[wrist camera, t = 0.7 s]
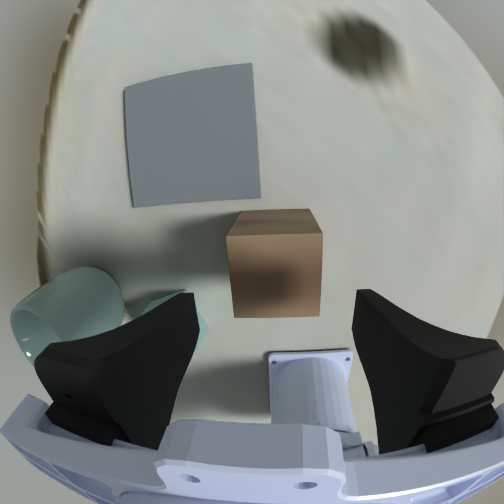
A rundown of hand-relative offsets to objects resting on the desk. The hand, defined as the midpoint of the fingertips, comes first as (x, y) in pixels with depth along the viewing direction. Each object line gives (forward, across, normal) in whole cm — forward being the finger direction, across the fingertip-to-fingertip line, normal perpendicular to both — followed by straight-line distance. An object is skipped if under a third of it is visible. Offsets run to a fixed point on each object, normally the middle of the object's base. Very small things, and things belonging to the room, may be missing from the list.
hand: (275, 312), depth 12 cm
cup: (+10, +17, +4) cm, 20 cm away
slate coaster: (+10, +6, -8) cm, 14 cm away
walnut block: (+10, 0, 0) cm, 10 cm away
